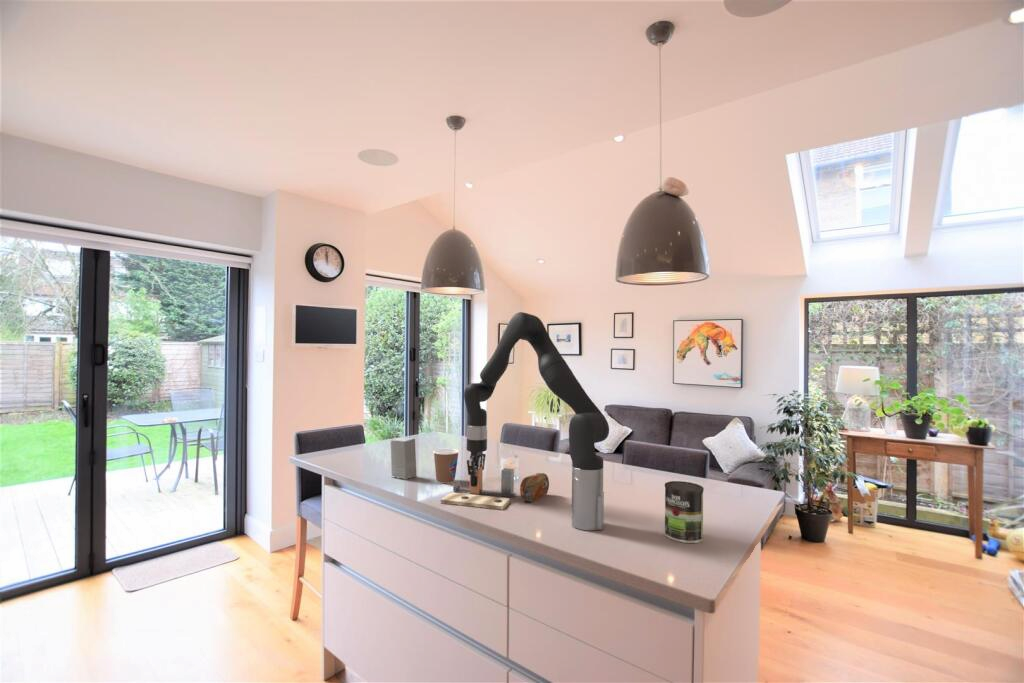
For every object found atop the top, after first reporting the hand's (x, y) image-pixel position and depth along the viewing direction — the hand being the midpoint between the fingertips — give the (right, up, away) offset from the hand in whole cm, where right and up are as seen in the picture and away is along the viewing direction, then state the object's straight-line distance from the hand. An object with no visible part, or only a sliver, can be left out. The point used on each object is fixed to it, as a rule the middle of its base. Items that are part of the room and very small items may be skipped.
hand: (476, 484), depth 169 cm
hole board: (+1, -3, -12) cm, 12 cm away
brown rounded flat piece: (+21, -3, -6) cm, 22 cm away
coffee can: (+61, -3, -40) cm, 73 cm away
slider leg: (0, -3, 0) cm, 3 cm away
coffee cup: (-13, -4, +15) cm, 21 cm away
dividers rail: (+4, -3, -1) cm, 5 cm away
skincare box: (-32, -4, +20) cm, 38 cm away
